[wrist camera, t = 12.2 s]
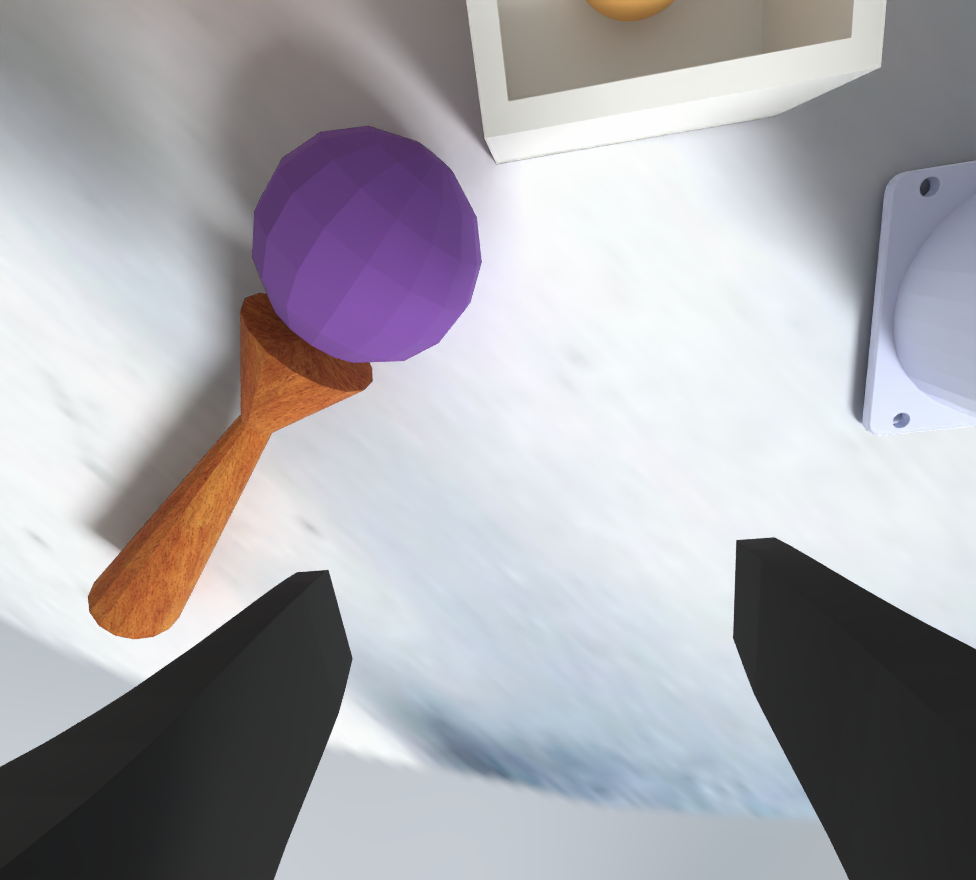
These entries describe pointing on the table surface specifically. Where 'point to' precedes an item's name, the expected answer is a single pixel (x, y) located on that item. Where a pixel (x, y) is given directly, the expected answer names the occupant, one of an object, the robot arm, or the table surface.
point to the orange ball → (629, 8)
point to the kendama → (309, 334)
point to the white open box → (657, 67)
